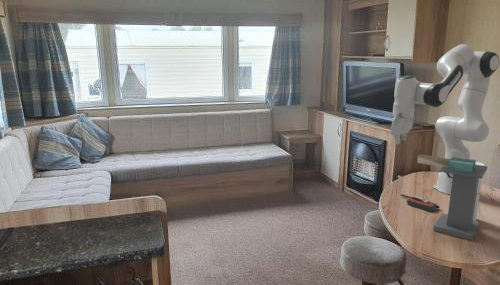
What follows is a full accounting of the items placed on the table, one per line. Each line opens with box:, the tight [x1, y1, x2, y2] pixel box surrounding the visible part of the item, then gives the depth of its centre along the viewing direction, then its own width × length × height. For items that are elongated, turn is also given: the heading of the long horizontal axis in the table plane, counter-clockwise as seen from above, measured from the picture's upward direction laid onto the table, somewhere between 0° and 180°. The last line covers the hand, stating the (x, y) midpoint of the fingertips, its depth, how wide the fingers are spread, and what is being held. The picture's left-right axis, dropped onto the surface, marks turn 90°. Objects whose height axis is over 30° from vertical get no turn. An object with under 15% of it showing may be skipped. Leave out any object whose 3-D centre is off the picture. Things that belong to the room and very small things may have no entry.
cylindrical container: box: [473, 161, 485, 221], centre depth 162 cm, size 7×7×25 cm
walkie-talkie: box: [400, 193, 440, 213], centre depth 180 cm, size 9×4×20 cm
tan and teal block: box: [416, 154, 477, 174], centre depth 151 cm, size 8×20×4 cm, turn 52°
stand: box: [433, 165, 488, 241], centre depth 152 cm, size 16×14×26 cm
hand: (400, 142), depth 173 cm, fingers open, 8 cm apart
